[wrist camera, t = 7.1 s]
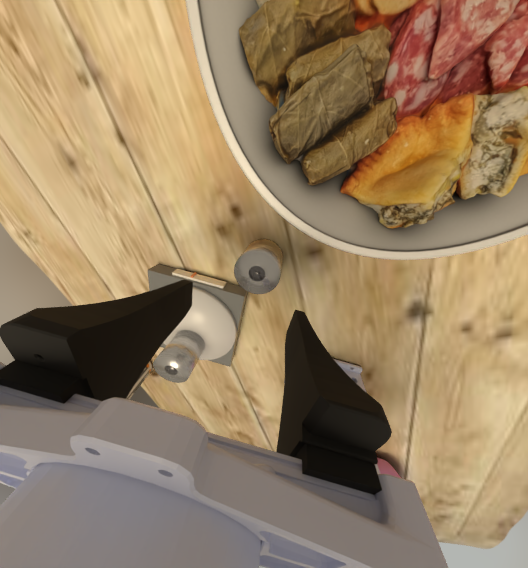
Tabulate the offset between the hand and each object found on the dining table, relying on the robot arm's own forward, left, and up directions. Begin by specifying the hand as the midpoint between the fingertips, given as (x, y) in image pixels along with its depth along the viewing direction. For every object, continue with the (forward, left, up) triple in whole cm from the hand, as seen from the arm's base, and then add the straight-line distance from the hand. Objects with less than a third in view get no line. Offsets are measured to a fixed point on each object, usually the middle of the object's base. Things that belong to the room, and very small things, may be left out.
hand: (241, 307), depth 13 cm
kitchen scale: (+7, +11, -10) cm, 16 cm away
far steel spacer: (+7, +14, -7) cm, 17 cm away
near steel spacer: (0, 0, -10) cm, 10 cm away
